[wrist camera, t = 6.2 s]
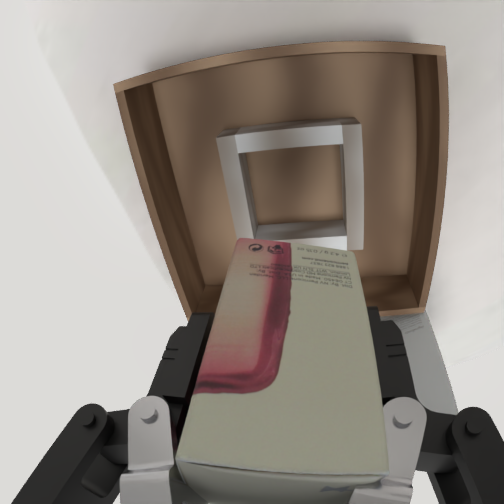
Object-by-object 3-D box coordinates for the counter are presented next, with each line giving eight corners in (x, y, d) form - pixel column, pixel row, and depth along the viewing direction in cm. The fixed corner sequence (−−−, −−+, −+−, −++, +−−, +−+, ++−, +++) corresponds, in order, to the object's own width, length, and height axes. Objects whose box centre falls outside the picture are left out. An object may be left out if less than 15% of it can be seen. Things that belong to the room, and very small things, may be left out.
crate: (415, 46, 16) (445, 46, 12) (409, 273, 27) (424, 312, 22) (147, 76, 20) (113, 84, 16) (203, 285, 30) (188, 323, 26)
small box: (236, 231, 11) (165, 457, 5) (357, 248, 11) (395, 477, 5) (230, 330, 14) (189, 503, 8) (326, 342, 14) (325, 518, 7)
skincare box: (354, 295, 29) (370, 448, 16) (414, 273, 26) (462, 421, 14) (376, 347, 32) (390, 475, 20) (428, 329, 30) (459, 456, 18)
